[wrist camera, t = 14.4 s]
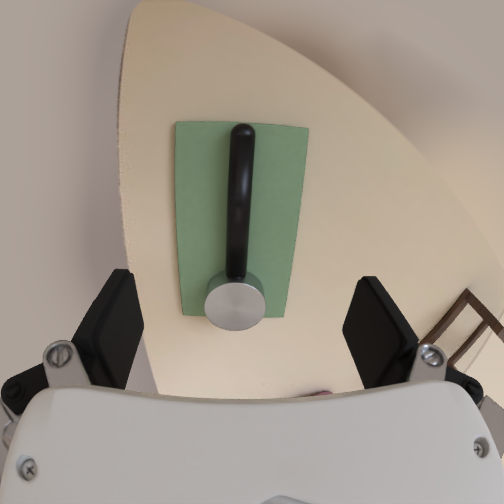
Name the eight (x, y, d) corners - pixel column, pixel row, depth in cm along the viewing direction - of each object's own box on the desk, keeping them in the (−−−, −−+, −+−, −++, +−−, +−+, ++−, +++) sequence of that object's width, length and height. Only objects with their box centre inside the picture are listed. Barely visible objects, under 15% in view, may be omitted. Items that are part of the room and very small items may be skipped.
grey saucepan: (207, 121, 16) (203, 121, 15) (279, 125, 17) (284, 125, 15) (206, 315, 24) (205, 330, 22) (261, 316, 24) (263, 331, 22)
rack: (466, 287, 26) (503, 326, 19) (491, 316, 29) (517, 347, 22) (410, 352, 30) (436, 397, 23) (447, 366, 33) (467, 400, 26)
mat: (176, 121, 17) (175, 122, 16) (307, 128, 17) (309, 128, 17) (183, 311, 24) (182, 315, 23) (282, 314, 25) (283, 317, 24)
